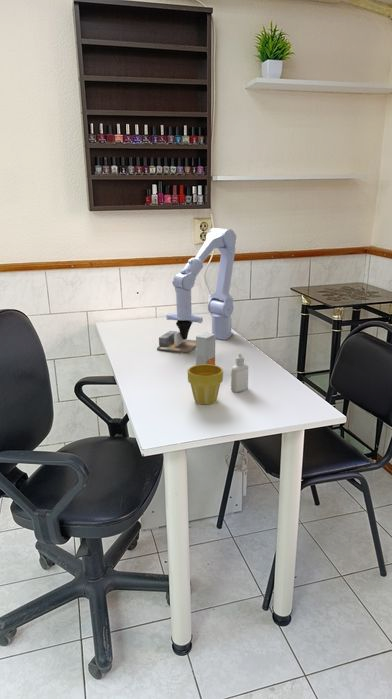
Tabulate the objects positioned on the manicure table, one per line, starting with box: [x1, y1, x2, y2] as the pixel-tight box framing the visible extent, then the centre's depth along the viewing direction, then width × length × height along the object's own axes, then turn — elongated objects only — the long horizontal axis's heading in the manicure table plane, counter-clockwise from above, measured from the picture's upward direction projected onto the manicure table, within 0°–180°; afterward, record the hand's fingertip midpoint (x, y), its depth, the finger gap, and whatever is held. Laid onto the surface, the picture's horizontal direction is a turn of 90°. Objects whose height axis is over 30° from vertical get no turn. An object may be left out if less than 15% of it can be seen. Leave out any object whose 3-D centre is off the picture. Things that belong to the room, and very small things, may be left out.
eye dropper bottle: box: [230, 352, 249, 393], centre depth 152 cm, size 4×6×12 cm
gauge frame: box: [156, 330, 196, 355], centre depth 194 cm, size 14×13×4 cm
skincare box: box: [195, 332, 216, 365], centre depth 171 cm, size 6×4×12 cm
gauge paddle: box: [171, 329, 185, 348], centre depth 193 cm, size 12×1×5 cm, turn 157°
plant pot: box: [187, 364, 224, 406], centre depth 146 cm, size 10×10×10 cm
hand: (184, 338), depth 193 cm, fingers closed
